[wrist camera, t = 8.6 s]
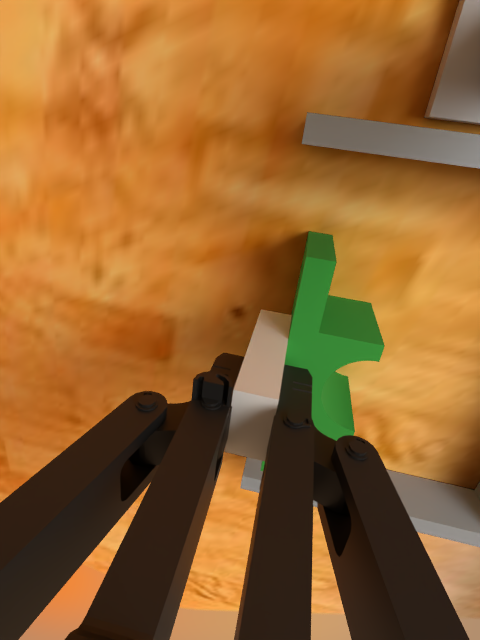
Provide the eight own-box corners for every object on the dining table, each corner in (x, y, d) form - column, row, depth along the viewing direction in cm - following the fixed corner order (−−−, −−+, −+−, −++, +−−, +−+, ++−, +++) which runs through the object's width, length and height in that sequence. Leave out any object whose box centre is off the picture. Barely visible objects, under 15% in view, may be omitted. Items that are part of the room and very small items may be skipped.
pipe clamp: (332, 425, 23) (334, 489, 18) (270, 412, 23) (259, 471, 19) (389, 243, 17) (410, 275, 13) (308, 229, 18) (305, 257, 14)
